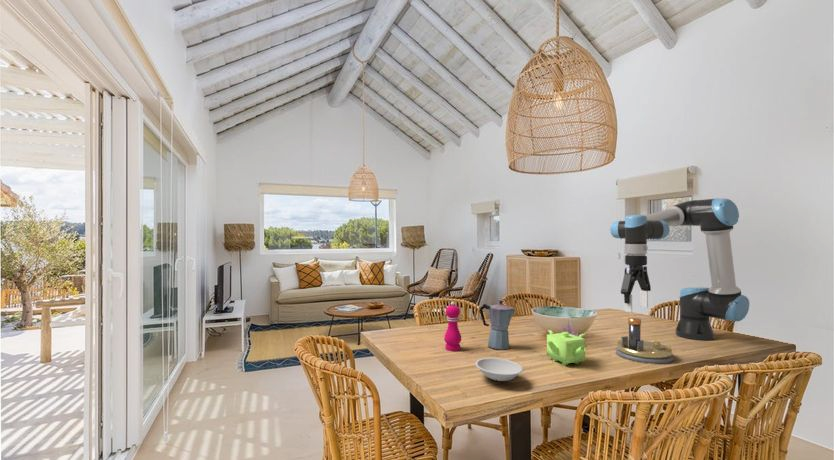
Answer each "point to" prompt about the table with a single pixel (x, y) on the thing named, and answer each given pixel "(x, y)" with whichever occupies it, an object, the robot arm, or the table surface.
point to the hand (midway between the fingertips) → (636, 309)
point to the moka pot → (498, 324)
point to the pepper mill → (452, 328)
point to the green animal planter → (566, 347)
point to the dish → (499, 368)
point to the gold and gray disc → (645, 349)
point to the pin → (634, 332)
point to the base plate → (643, 358)
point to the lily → (569, 329)
